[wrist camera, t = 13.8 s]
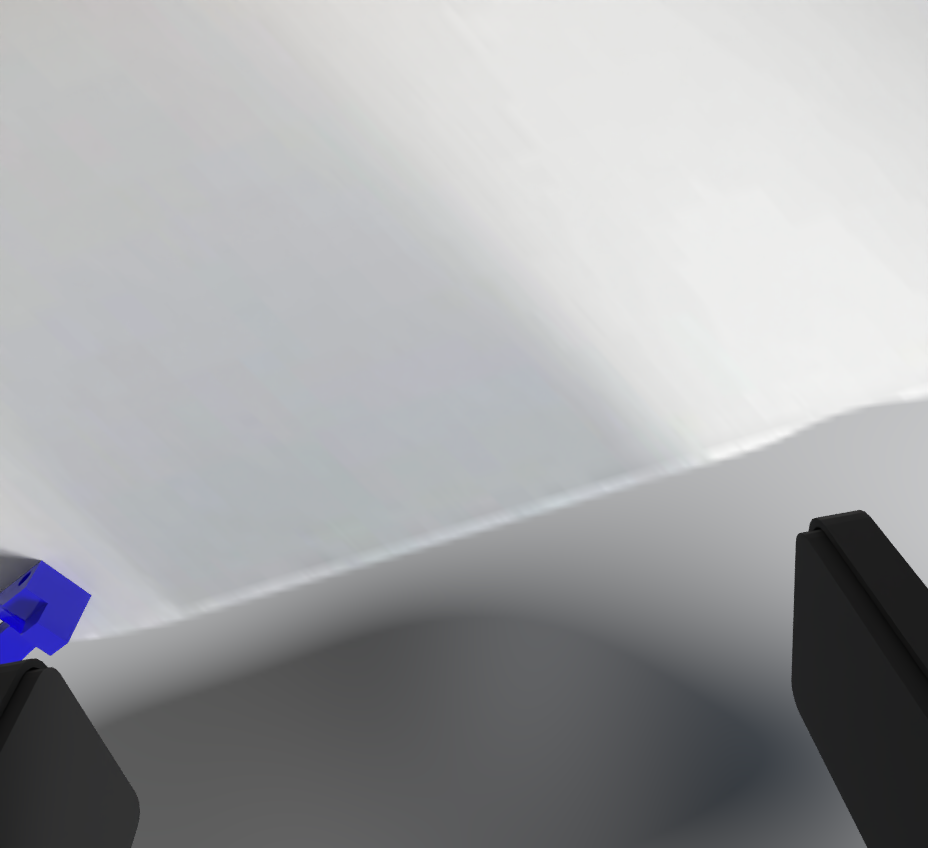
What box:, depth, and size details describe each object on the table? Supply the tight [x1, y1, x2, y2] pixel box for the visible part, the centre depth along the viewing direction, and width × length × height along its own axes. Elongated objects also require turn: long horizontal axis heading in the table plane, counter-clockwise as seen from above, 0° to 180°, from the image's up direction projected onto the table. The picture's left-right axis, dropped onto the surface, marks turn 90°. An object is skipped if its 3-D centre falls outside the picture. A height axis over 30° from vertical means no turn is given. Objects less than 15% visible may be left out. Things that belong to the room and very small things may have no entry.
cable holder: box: [0, 560, 91, 664], centre depth 47 cm, size 8×4×4 cm, turn 128°
